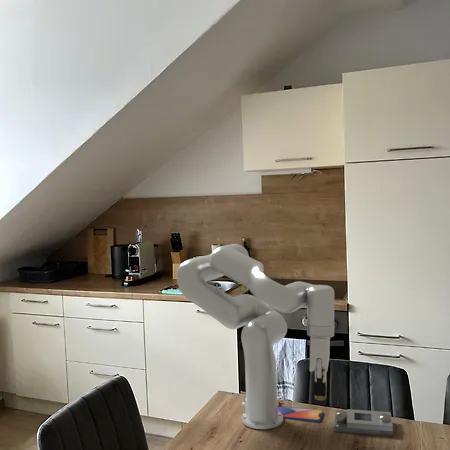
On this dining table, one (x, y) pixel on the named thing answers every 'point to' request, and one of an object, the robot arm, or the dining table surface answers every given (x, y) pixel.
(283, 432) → the dining table surface
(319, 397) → the pin
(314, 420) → the smartphone
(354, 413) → the grey block with knobs
